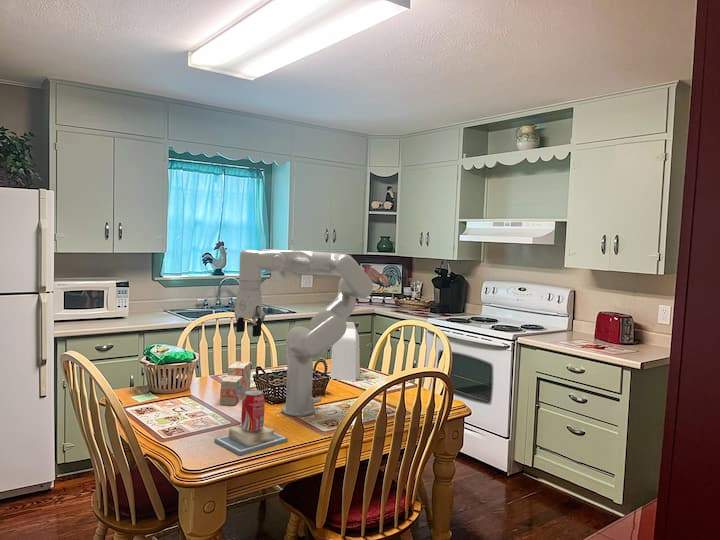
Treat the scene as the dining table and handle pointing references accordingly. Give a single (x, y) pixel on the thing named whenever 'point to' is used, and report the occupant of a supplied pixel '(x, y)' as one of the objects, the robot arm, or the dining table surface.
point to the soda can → (253, 410)
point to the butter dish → (249, 440)
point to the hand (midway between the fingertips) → (248, 334)
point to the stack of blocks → (235, 383)
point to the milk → (346, 355)
